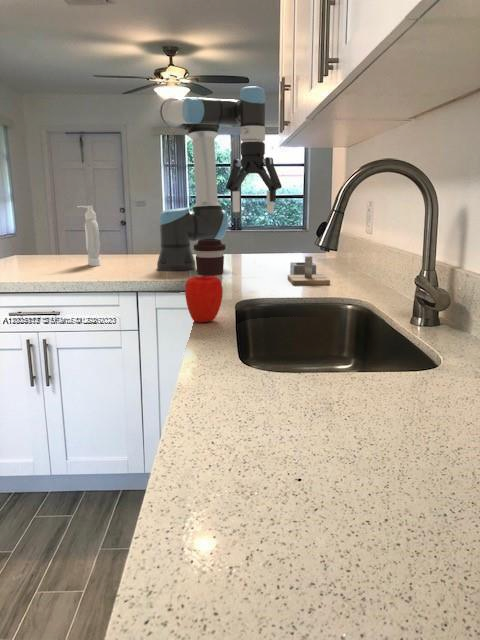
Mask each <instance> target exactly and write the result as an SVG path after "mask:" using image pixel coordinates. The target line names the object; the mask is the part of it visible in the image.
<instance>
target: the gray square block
mask: <svg viewBox="0 0 480 640" xmlns="http://www.w3.org/2000/svg"><path fill="white" fill-rule="evenodd" d="M289 265H290V267H289V270H290V272H289V273H290V274H289V275H305V261H304V262H300V261H299V262H295V261H294V262H290V264H289ZM313 274H317V264H315V263H314V262H312V275H313Z"/></svg>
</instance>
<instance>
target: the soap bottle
mask: <svg viewBox="0 0 480 640" xmlns="http://www.w3.org/2000/svg"><path fill="white" fill-rule="evenodd" d="M76 207H77V209H78V208H85V209H87V210H86V212H85V213H84V217H85V223H84V232H85V248H86V252H87V254H88V257H87V264H88V266H91V267H99V266H101V265H102V264H101V263H102V262H101V257H100V251H101V250H100V249H101V247H100V246H101V245H100V244H101V243H100V235H99V232H100V231H99V224H98V222H97V213H96V212H95V211H94V209H93V205H78V206H76Z"/></svg>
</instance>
